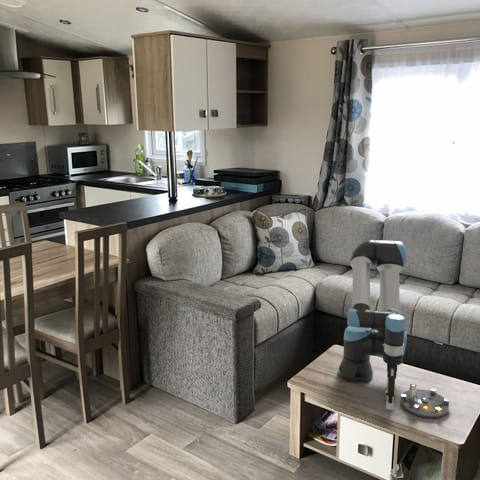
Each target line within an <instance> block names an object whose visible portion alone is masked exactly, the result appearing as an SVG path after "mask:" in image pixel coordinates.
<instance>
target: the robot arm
mask: <svg viewBox="0 0 480 480" xmlns="http://www.w3.org/2000/svg"><path fill="white" fill-rule="evenodd" d="M374 265H375V266H376V270H377V271H378V272H379V273H380V274H379V310H375V309H374V310H373V309H371V286H370V285H371V284H370V283H371V278H370V277H371V274H370V271H371V269H370V268H372V266H374ZM406 265H407V252H406V247H405V244H404V243H403V242H402V241H399V240H398V241H397V240H380V239H379V240H377V239H376V240H375V239H368V240H365V241H362V242H360V243H359V244H358V245H357V246H356V247H355V249H354V250H353V252H352V253H351V257H350V266H351V268H352V289H351V291H352V292H351V293H352V294H351V295H352V296H351V297H352V300H351V301H352V302H351V303H352V304H351V308H348V310H347V319H346V322H347V327H346V328H345V330H344V335H343V352H342V353H343V356H342V359H341V362H340V365H339V367H338V376H339V377H340V378H342V379H343V380H344V381H347V382H351V383H356V384H360V383H361V384H363V383H368V382H370V381H371V380H372V379H373V376H374V370H373V369H372V368H373V367H372V364H371V356H372V357H381V358H382V360H383V362H384V363H385V364H386V371H387V372H386V373H387V375H386V377H387V380H386V387H388V393H386V395H387V402H386V401H385V402H386V405H385V409H386V410H389V411H394V404H395V402H394V396H395V397H396V394H395V395H394V389H395V390H396V388H395V387H396V386H395V385H396V379H397V372H398V366H400V365H401V364H402V363H403V357H404V355H405V351H406V348H407V346H406V345H407V339H408V333H407V331H406V327H407V326H406V318H405V316H403V315H401V314H400V272H401V271H403V267H406Z"/></svg>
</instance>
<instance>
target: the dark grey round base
mask: <svg viewBox="0 0 480 480" xmlns="http://www.w3.org/2000/svg"><path fill="white" fill-rule="evenodd" d="M408 389H409V390H406V391H404V392H403V393H401V395H400V404H401V407H402V408H403V409H404V410H405V411H406V412H408V413H410V414H411V415H414V416H417V417H419V418H424V419H425V418H426V419H440V418H443V417H445V416H446V415H448V413H449V409H450V408H449V406H450V399H449V398H448V399H447V398H445V397H444V396H442V395H441V394H439V393H437V389H436V388H431V389H430V390H426V389H420V388H418V387H417V384H415V383H410V385H409V387H408Z"/></svg>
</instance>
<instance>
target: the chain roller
mask: <svg viewBox="0 0 480 480" xmlns="http://www.w3.org/2000/svg"><path fill="white" fill-rule="evenodd" d="M386 393H388V387H387V386H386V387H385V391H384V401H385V402H387V395H386ZM394 395H395V396H394V403H395V400H396V388H395V389H394Z"/></svg>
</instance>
